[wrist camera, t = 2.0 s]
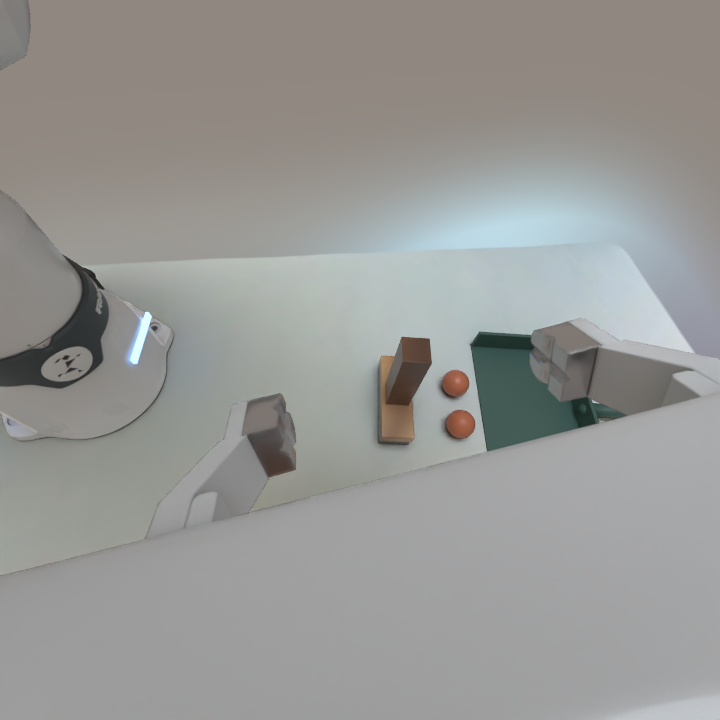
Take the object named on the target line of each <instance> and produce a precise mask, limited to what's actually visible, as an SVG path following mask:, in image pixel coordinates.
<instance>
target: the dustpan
mask: <svg viewBox="0 0 720 720" xmlns="http://www.w3.org/2000/svg"><path fill="white" fill-rule="evenodd" d="M533 349H534V346H533V344H532V343H531V335H521V334H506V333H491V332H479V333H478V335H477V336H476V338H475V339H474V340H473V342H472V343H471V350H472V356H473V362H474V369H475V375H476V382H477V388H478V394H479V401H480V407H481V414H482V420H483V426H484V433H485V439H486V446H487V452H488V451H492V450H495V449H499V448H503V447H507V446H511V445H515V444H519V443H523V442H527V441H531V440H535V439H539V438H542V437H546V436H550V435H554V434H558V433H562V432H566V431H570V430H574V429H578V428H582V427H586V426H590V425H593V424H597V423H599V421H598V418H597V417H612V418H621V417H625V416H628V415H626V414H624V413H621V412H619V411H617V410H614V409H612V408H610V407H608V406H605V405H603V404H597V403H592V400H591V399H589V398H588V397H583V398H579V399H575V400H570V401H566V402H560V401H559V400H558V399H557V398H556V397H555V396H554V395H553V394H552V393H551V392H550V391H549V390H548V384H546V383H543V382H540V381H539V380H538V379H537V378H536V377H535V376H534V374H533V373H532V371H531V367H530V364H529V356H530V353H531V351H532V350H533ZM571 402H572V403H571ZM572 406H573V407H572ZM573 409H574V410H573ZM575 416H576V417H575ZM576 419H577V420H576ZM577 423H578V424H577ZM578 426H579V427H578Z"/></svg>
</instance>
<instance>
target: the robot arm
mask: <svg viewBox="0 0 720 720" xmlns="http://www.w3.org/2000/svg"><path fill="white" fill-rule="evenodd" d="M29 38H30V11H29V3H28V0H0V70H2V69H4V68H5V67H7V66H9V65H11V64H13V63H14V62H16V61H18V60H20V59H22V58H24V57H25V56H26V53H27V49H28V44H29ZM155 329H157V330H156V331H154V330H155ZM173 337H174V333H173V331H172V330H171V329H170V328H169V327H168V326H167V325H165V324H163V323H162V322H160V321H158V320H157V319H155V318H153V317H152V316H151V315H150V314H149V312H143V311H141V310H140V309H138V308H136V307H135V306H133V305H131V304H130V303H129V302H128V301H125V300H123V299H121V298H119V297H118V296H116V295H114V294H113V293H111V292H109V291H108V290H106V289H104V288H103V287H102V285H101V284H100V283H99V282H98V280H97V279H96V276H95V274H94V273H93V272H92V271H91V270H88V269H86V268H83V267H81V266H80V265H78V264H77V263H75V262H73V261H72V260H70V259H69V258H67V257H66V256H64V255H63V254H61V253H60V252H59V250H58V249H57V248H56V247H55V246H54V244H53V243H52V242H51V241H50V240H49V239H48V237H47V236H46V235H45V234H44V233H43V232H42V230H41V229H40V228H39V227H38V226H37V225H36V223H35V222H34V221H33V220H32V219H31V218H30V216H29V215H28V214H27V213H26V212H25V211H24V210H23V208H22V207H21V206H20V205H19V204H18V203H17V202H16V201H15V200H13V199H12V198H11V197H10V196H8V195H7V194H5V193H4V192H2V191H1V190H0V414H1V416H2V419H3V422H4V424H5V427H6V430H7V433H8V435H9V436H11V437H12V438H14V439H16V440H18V441H28V440H34V439H39V438H43V437H59V438H66V439H89V438H94V437H99V436H102V435H106V434H108V433H111V432H114V431H116V430H118V429H120V428H122V427H124V426H125V425H127V424H129V423H130V422H132V421H133V420H135V419H136V418H137V417H139V416H140V415H141V414H142V413H143V412H144V411H145V410H146V409H147V408H148V407H149V406H150V405H151V404H152V402H153V401H154V400H155V398H156V397H157V395H158V394H159V392H160V390H161V388H162V386H163V383H164V380H165V376H166V355H167V351H168V349H169V347H170V345H171V343H172V341H173ZM531 343H532V344H533V346H534V349H533V350H532V351H531V353H530V356H529V364H530V367H531V371H532V373H533V374H534V376H535V377H536V378H537V379H538V380H539V381H540V382H543V383H546V384H548V390H549V391H550V392H551V393H552V394H553V395H554V396H555V397H556V398H557V399H558V400H559V401H560V402H566V401H570V400H575V399H579V398H583V397H588V398H589V399H592V400H594V401H596V402H599V403H601V404H603V405H605V406H608V407H610V408H612V409H614V410H617V411H619V412H621V413H624V414H626V415H628V416H625V417H621V418H617V419H613V420H609V421H605V422H601V423H597V424H593V425H590V426H586V427H582V428H578V429H574V430H570V431H566V432H562V433H558V434H554V435H550V436H546V437H542V438H539V439H535V440H531V441H527V442H523V443H519V444H515V445H511V446H507V447H503V448H499V449H495V450H492V451H488V452H484V453H480V454H476V455H472V456H468V457H464V458H461V459H457V460H453V461H449V462H445V463H441V464H437V465H433V466H430V467H426V468H422V469H418V470H414V471H410V472H406V473H402V474H398V475H394V476H390V477H387V478H383V479H379V480H375V481H371V482H367V483H363V484H359V485H355V486H351V487H347V488H343V489H340V490H336V491H332V492H328V493H324V494H320V495H316V496H312V497H308V498H304V499H300V500H297V501H293V502H289V503H285V504H281V505H277V506H273V507H269V508H265V509H261V510H257V511H253V512H250V513H249V511H250V510H251V508H252V506H253V505H254V503H255V501H256V500H257V498H258V496H259V495H260V493H261V491H262V490H263V488H264V486H265V485H266V483H267V481H268V480H269V477H272V476H276V475H279V474H283V473H286V472H290V471H294V470H296V452H295V449H294V447H293V446H294V444H295V443H296V433H295V427H294V423H293V420H292V417H291V415H290V413H288V412H286V402H285V400H284V398H283V395H282V394H281V393H279V394H275V395H270V396H266V397H261V398H257V399H253V400H249V401H244V402H240V403H236V404H233V405H232V406H231V409H230V413H229V418H228V422H227V426H226V430H225V434H224V438H223V441H220V442H218V443H217V444H216V445H215V446H214V447H213V448H212V449H211V450H210V451H209V452H208V453H207V454H206V455H205V456H204V457H203V458H202V459H201V460H200V461H199V462H198V463H197V464H196V465H195V466H194V467H193V468H192V469H191V470H190V471H189V472H188V473H187V474H186V475H185V476H184V477H183V478H182V479H181V480H180V481H179V482H178V483H177V484H176V486H175V487H174V488H173V489H172V490H171V491H170V492H169V493H168V494H167V495H166V496H165V497H164V498H163V499H162V500H161V501H160V502H159V503H158V505H157V508H156V510H155V513H154V516H153V518H152V521H151V524H150V526H149V529H148V532H147V534H146V537H145V539H144V540H140V541H136V542H132V543H128V544H124V545H120V546H116V547H113V548H109V549H105V550H101V551H97V552H93V553H89V554H85V555H81V556H77V557H73V558H70V559H66V560H62V561H58V562H54V563H50V564H46V565H42V566H38V567H34V568H30V569H26V570H22V571H18V572H14V573H10V574H5V575H1V576H0V720H720V359H717V358H713V357H708V356H702V355H698V354H693V353H688V352H683V351H678V350H673V349H668V348H663V347H658V346H653V345H648V344H643V343H638V342H633V341H628V340H623V341H620V340H618V339H616V338H615V337H613V336H612V335H610V334H608V333H607V332H605V331H604V330H602V329H600V328H599V327H597V326H596V325H594V324H593V323H591V322H589V321H588V320H586V319H583V318H578V319H574V320H571V321H567V322H564V323H561V324H557V325H554V326H550V327H546V328H542V329H538V330H534V331H533V333H532V335H531Z"/></svg>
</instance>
